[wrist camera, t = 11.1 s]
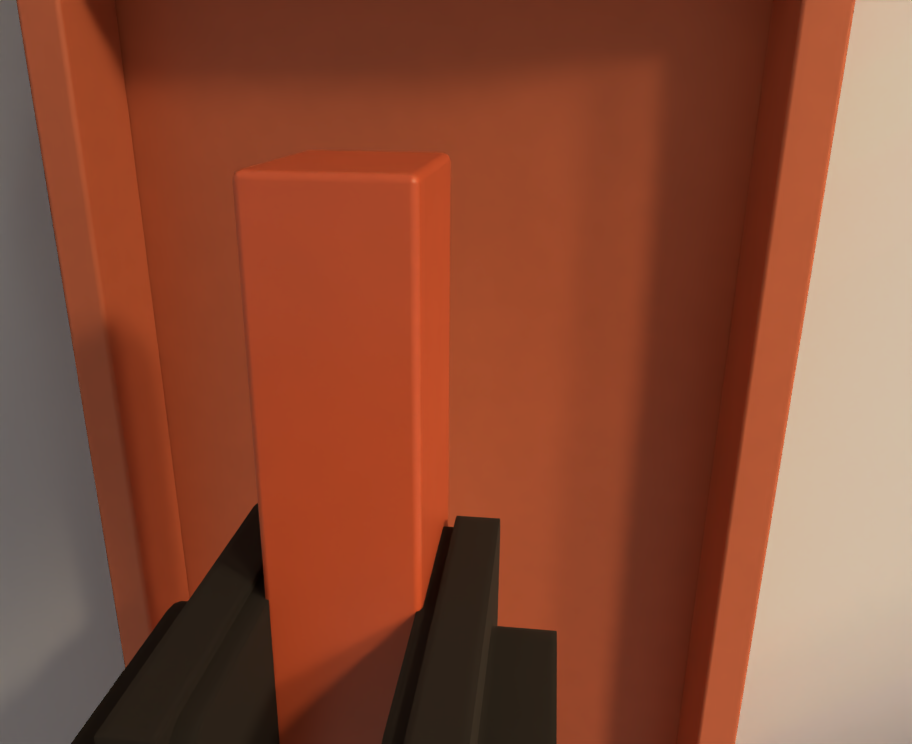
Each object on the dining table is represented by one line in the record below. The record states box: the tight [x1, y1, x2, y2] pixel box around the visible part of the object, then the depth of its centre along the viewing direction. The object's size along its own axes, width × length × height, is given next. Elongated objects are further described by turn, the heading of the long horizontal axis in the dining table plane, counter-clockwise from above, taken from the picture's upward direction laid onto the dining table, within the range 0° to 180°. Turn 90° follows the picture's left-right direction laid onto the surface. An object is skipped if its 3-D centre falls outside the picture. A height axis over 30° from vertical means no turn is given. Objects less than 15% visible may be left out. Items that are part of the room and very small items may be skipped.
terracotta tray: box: [16, 0, 855, 744], centre depth 14 cm, size 21×10×2 cm, turn 0°
